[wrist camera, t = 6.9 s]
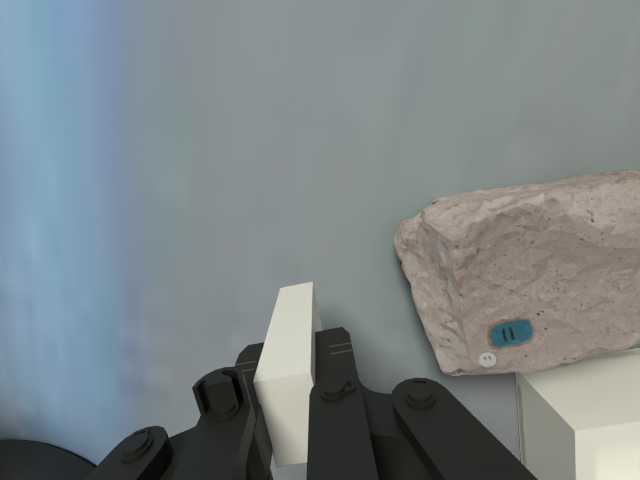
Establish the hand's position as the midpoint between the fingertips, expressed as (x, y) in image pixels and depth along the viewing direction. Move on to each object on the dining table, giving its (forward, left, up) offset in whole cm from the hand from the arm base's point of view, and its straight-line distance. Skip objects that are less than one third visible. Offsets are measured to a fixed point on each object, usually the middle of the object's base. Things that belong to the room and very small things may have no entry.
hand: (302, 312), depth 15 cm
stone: (+12, -1, -5) cm, 13 cm away
